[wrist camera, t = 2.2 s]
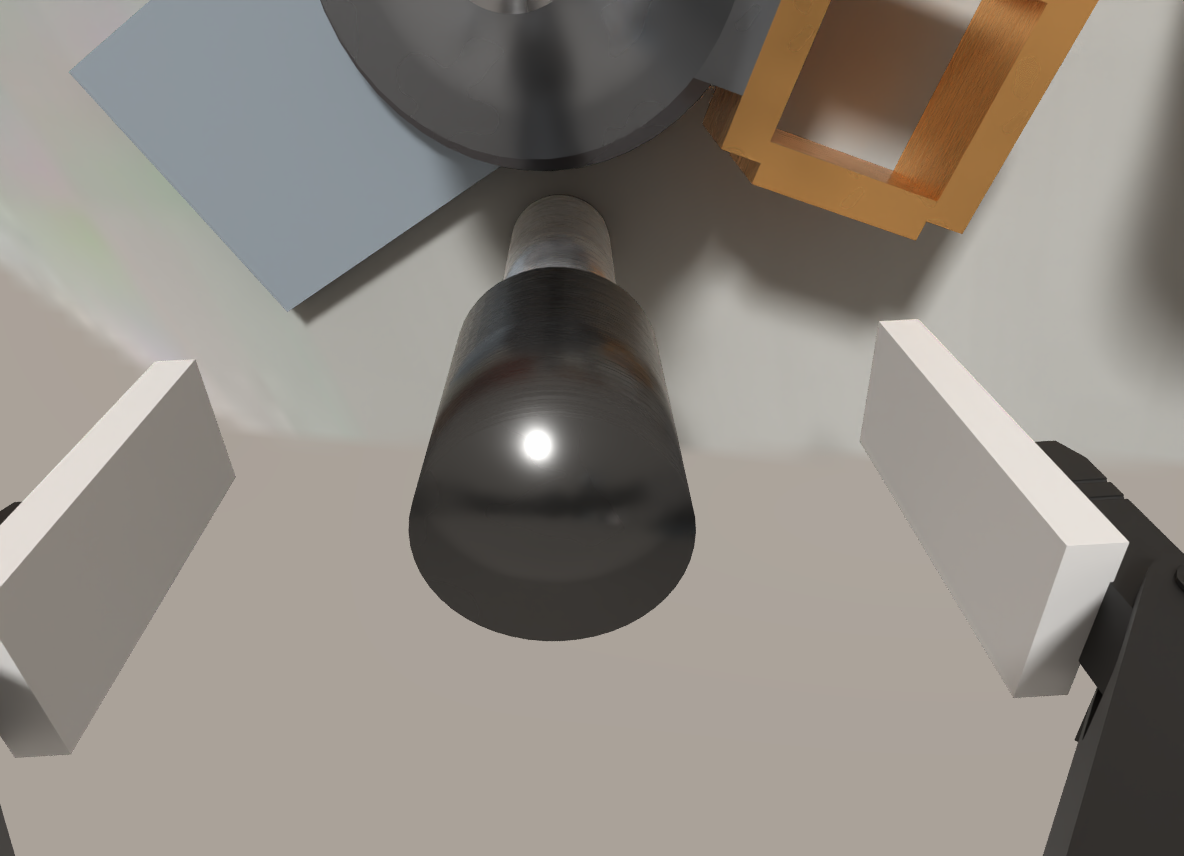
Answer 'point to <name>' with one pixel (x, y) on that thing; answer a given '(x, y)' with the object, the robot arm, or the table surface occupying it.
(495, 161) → the dark grey disc
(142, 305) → the table surface
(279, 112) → the key mat
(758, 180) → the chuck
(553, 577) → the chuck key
